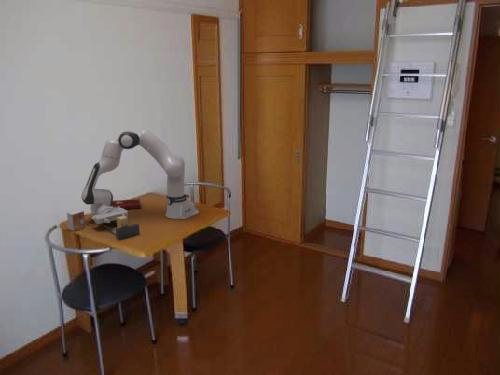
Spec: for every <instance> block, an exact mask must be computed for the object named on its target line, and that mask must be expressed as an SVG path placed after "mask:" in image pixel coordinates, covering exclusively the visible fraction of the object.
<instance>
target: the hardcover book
mask: <svg viewBox="0 0 500 375" xmlns="http://www.w3.org/2000/svg"><path fill="white" fill-rule="evenodd" d="M141 200H142V199H141V198H137V199H136V198H135V199H133V198H132V199H121V200H120V199H119V200H118V199H117V200H113V202H112V204H111V207H114V206H119V207H120V208H123V209H125V210H127V211H130V210H131V211H132V210H133V211H134V210H142V201H141Z"/></svg>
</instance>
